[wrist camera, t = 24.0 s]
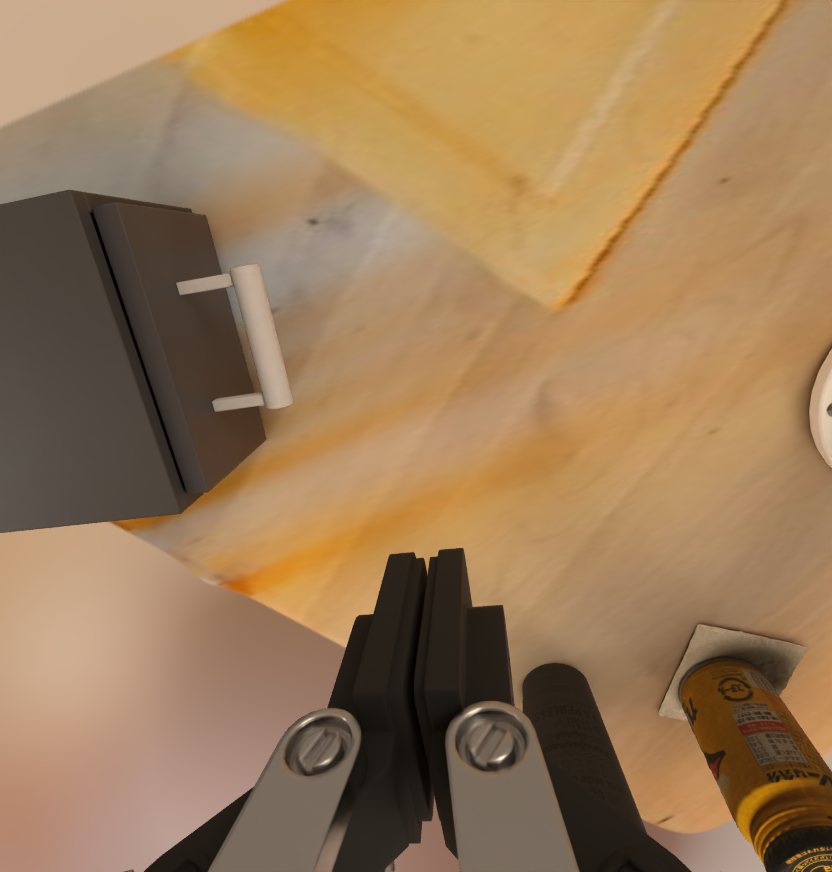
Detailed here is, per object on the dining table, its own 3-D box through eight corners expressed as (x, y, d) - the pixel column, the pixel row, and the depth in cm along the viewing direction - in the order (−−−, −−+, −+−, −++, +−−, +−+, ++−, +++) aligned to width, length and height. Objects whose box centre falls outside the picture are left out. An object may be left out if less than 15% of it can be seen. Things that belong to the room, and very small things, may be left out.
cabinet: (191, 208, 30) (69, 189, 21) (257, 445, 34) (181, 514, 25) (-55, 257, 32) (-260, 259, 23) (38, 472, 37) (-104, 544, 28)
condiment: (656, 713, 38) (734, 905, 27) (697, 622, 35) (803, 794, 24) (755, 734, 38) (876, 936, 27) (804, 643, 35) (962, 828, 24)
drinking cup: (556, 628, 37) (647, 1023, 18) (630, 690, 38) (788, 1121, 19) (482, 686, 39) (492, 1087, 20) (553, 742, 40) (625, 1171, 21)
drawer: (277, 200, 28) (209, 182, 21) (330, 431, 32) (289, 483, 25) (-32, 261, 31) (-187, 264, 24) (53, 466, 35) (-56, 522, 28)
